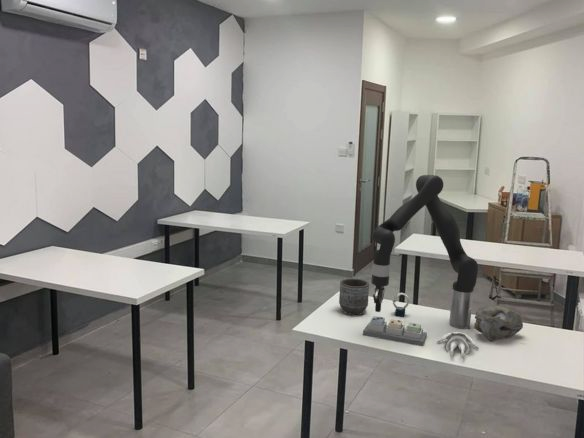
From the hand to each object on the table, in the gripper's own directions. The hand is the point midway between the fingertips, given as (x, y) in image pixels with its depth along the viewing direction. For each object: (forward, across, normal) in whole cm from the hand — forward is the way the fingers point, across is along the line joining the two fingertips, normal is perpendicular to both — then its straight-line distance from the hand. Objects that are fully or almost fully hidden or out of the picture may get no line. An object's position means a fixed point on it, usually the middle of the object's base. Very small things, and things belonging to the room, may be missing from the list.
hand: (377, 311), depth 228 cm
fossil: (+10, +20, -49) cm, 54 cm away
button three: (+7, 0, 0) cm, 7 cm away
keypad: (+10, 0, -8) cm, 13 cm away
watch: (+10, +27, -5) cm, 29 cm away
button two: (+7, 0, -8) cm, 11 cm away
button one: (+7, 0, -16) cm, 18 cm away
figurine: (+10, 0, -35) cm, 36 cm away
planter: (+10, +21, +17) cm, 29 cm away
